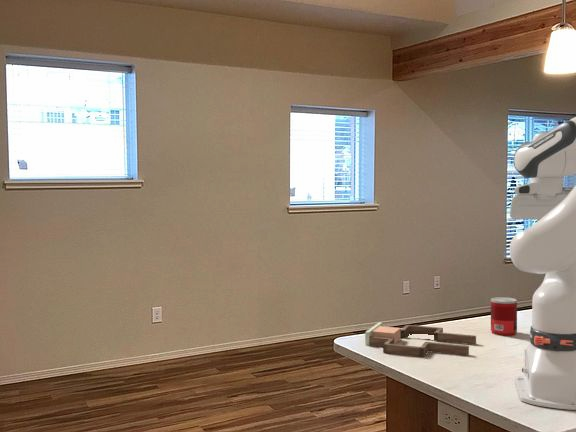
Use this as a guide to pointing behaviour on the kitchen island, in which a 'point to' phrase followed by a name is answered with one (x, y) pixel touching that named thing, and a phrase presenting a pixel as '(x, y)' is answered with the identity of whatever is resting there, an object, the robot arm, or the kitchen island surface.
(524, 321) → the kitchen island surface
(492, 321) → the canned food
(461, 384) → the kitchen island surface
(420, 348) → the box
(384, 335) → the block
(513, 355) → the kitchen island surface
